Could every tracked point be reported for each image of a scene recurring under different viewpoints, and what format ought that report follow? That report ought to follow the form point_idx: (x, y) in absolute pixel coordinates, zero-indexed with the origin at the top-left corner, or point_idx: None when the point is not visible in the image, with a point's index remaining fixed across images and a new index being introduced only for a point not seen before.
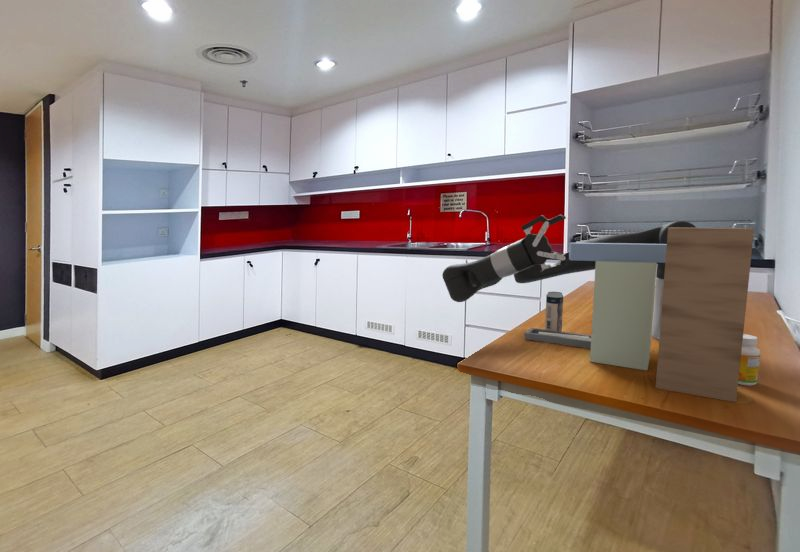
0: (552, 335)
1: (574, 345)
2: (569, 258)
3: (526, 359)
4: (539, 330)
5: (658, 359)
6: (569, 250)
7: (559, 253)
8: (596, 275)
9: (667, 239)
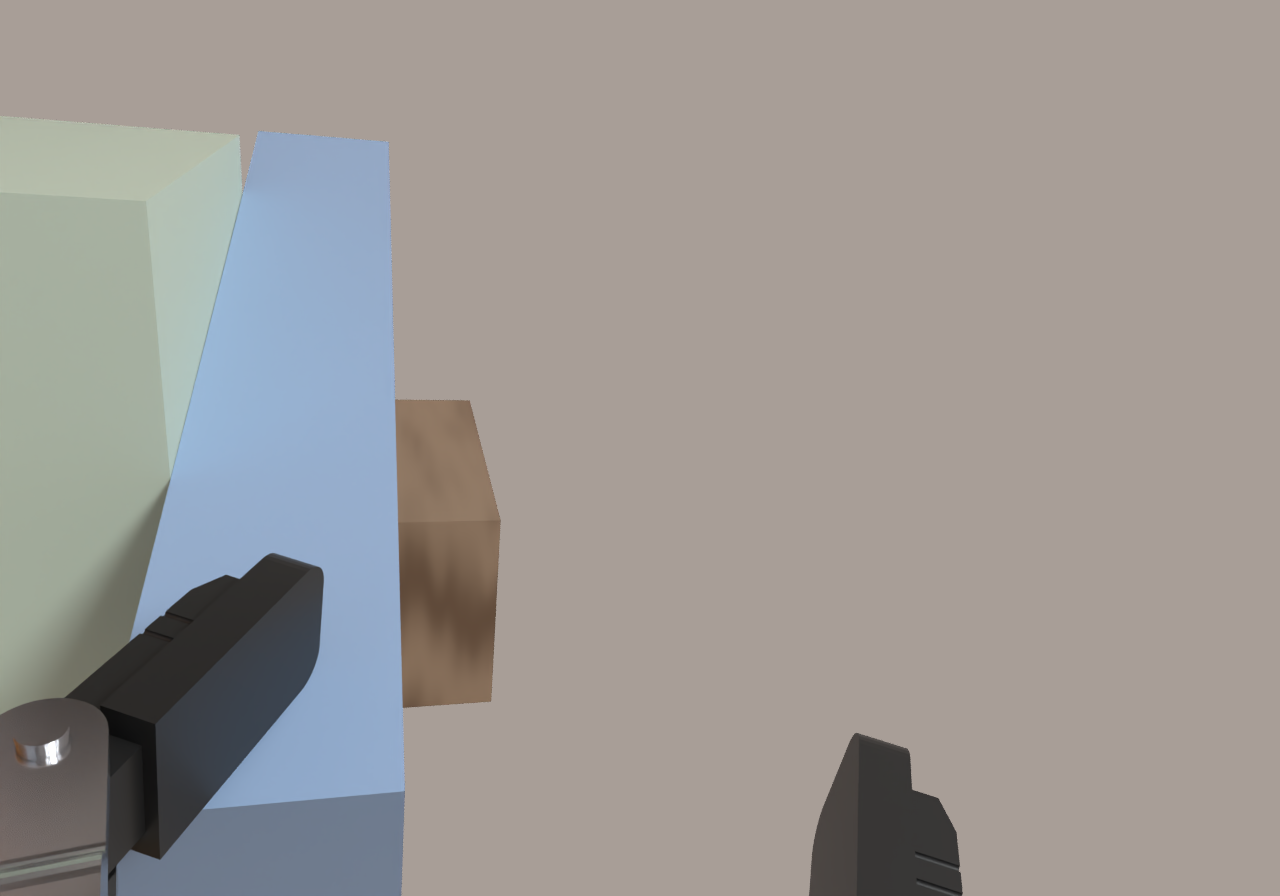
0: None
1: None
2: (127, 890)
3: None
4: None
5: None
6: (264, 838)
7: (107, 842)
8: (9, 707)
9: (434, 704)
